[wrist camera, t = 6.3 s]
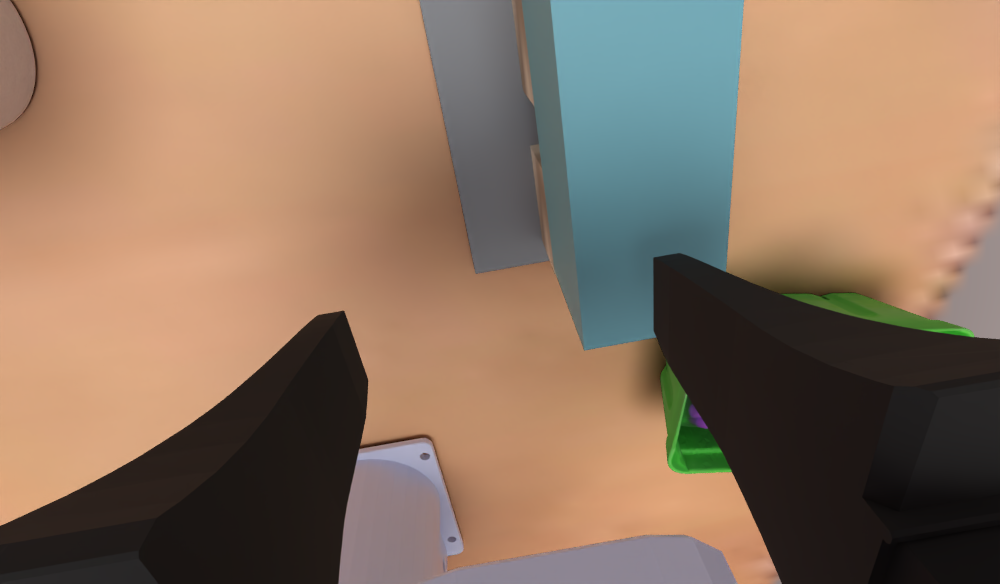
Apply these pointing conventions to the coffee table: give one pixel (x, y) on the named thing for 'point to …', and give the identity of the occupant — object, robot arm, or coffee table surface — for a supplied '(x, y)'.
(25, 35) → the coffee cup
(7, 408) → the coffee table surface
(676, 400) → the fruit basket
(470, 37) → the build plate
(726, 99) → the lintel
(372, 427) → the coffee table surface
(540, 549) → the coffee table surface
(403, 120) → the coffee table surface
